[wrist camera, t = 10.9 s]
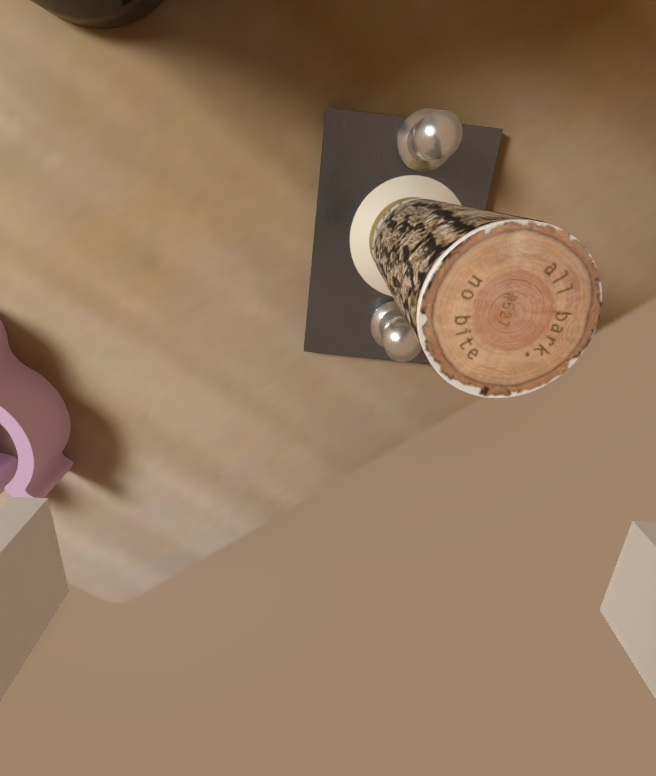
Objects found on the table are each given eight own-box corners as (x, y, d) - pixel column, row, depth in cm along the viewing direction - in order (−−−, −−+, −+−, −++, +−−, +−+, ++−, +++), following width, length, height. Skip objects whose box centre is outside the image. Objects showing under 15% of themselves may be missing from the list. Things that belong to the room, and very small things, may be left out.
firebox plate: (325, 109, 38) (325, 107, 37) (498, 130, 39) (503, 128, 38) (304, 347, 46) (303, 351, 45) (447, 361, 47) (450, 366, 46)
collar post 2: (401, 106, 37) (413, 93, 32) (457, 112, 38) (479, 101, 32) (392, 168, 39) (402, 166, 34) (446, 174, 39) (465, 173, 34)
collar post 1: (373, 297, 43) (380, 314, 38) (422, 302, 43) (435, 320, 38) (366, 344, 45) (372, 367, 39) (413, 349, 45) (425, 372, 40)
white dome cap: (357, 168, 39) (357, 168, 39) (479, 182, 39) (480, 182, 39) (343, 291, 43) (343, 291, 43) (453, 302, 43) (454, 303, 43)
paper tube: (457, 202, 40) (631, 234, 17) (438, 284, 42) (566, 408, 20) (375, 190, 39) (441, 205, 16) (361, 273, 42) (401, 386, 19)
